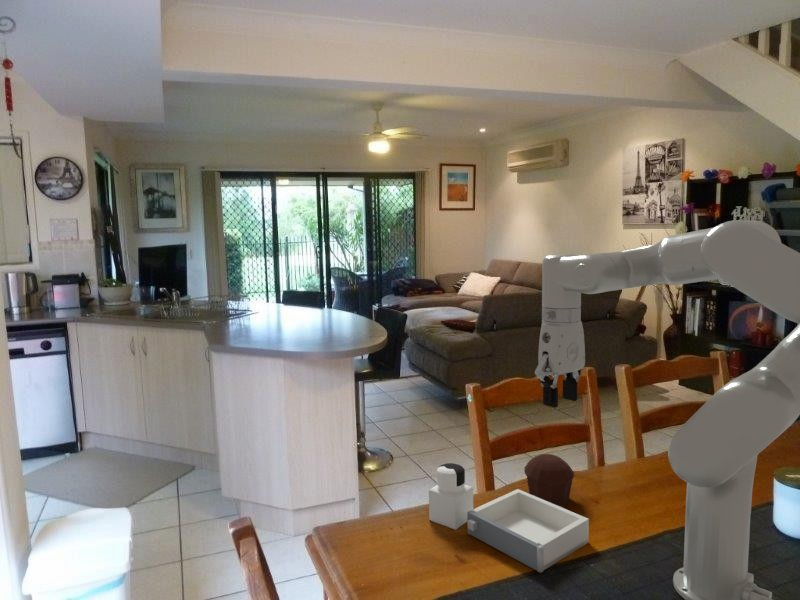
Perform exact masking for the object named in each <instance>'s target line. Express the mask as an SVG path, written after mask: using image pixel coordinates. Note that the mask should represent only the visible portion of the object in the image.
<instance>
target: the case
mask: <svg viewBox="0 0 800 600" xmlns="http://www.w3.org/2000/svg"><path fill="white" fill-rule="evenodd" d="M472 511H473V512H475V513H477V514H479V515H481V516H483V517H485V518H487V519H489V520H491V521H493V522H495V523H497V524H499V525H501V526H503V527H505V528H507V529H509V530H511V531H513V532H515V533H517V534H519V535H521V536H523V537H525V538H527V539H529V540H531V541H533V542H535V543H537V544H539V545H542V546H543V547H544V570H543V571H545V570H547V569H548V568H550V567H551V566H553V565H555V564H556V563H557V562H560V561H561V560H563V559H564V558H566V557H567V556H569V555H571V554H572V553H574V552H575V551H577V550H579V549H581V548H582V547H584V546H586V545H587V544H589V534H590V533H589V532H590V529H589V528H590V526H589V525H590V518H588V517H586V516H583V515H581V514H578V513H575V512H573V511H571V510H568V509H566V508H564V507H563V506H557V505H555V504H552V503H550V502H548V501H545V500H543V499H540V498H538V497H536V496H533V495H531V494H529V493H528V492H526V491H524V490H521V489H519V488H517V489H515V490H513V491H510V492H507V493H506V494H504V495H501V496H499V497H497V498H495V499H492V500H491V501H488V502H486V503H484V504H482V505H479V506H477V507H476V508H473V510H472Z"/></svg>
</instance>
